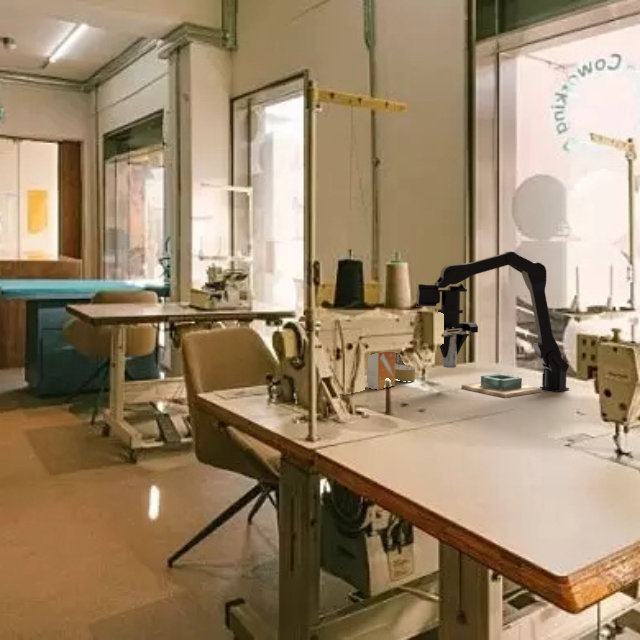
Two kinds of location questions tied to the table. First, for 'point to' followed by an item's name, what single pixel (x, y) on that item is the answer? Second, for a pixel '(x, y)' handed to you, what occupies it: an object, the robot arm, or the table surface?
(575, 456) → the table surface
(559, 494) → the table surface
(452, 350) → the steel pin
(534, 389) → the socket board
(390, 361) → the small box
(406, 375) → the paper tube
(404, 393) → the table surface
